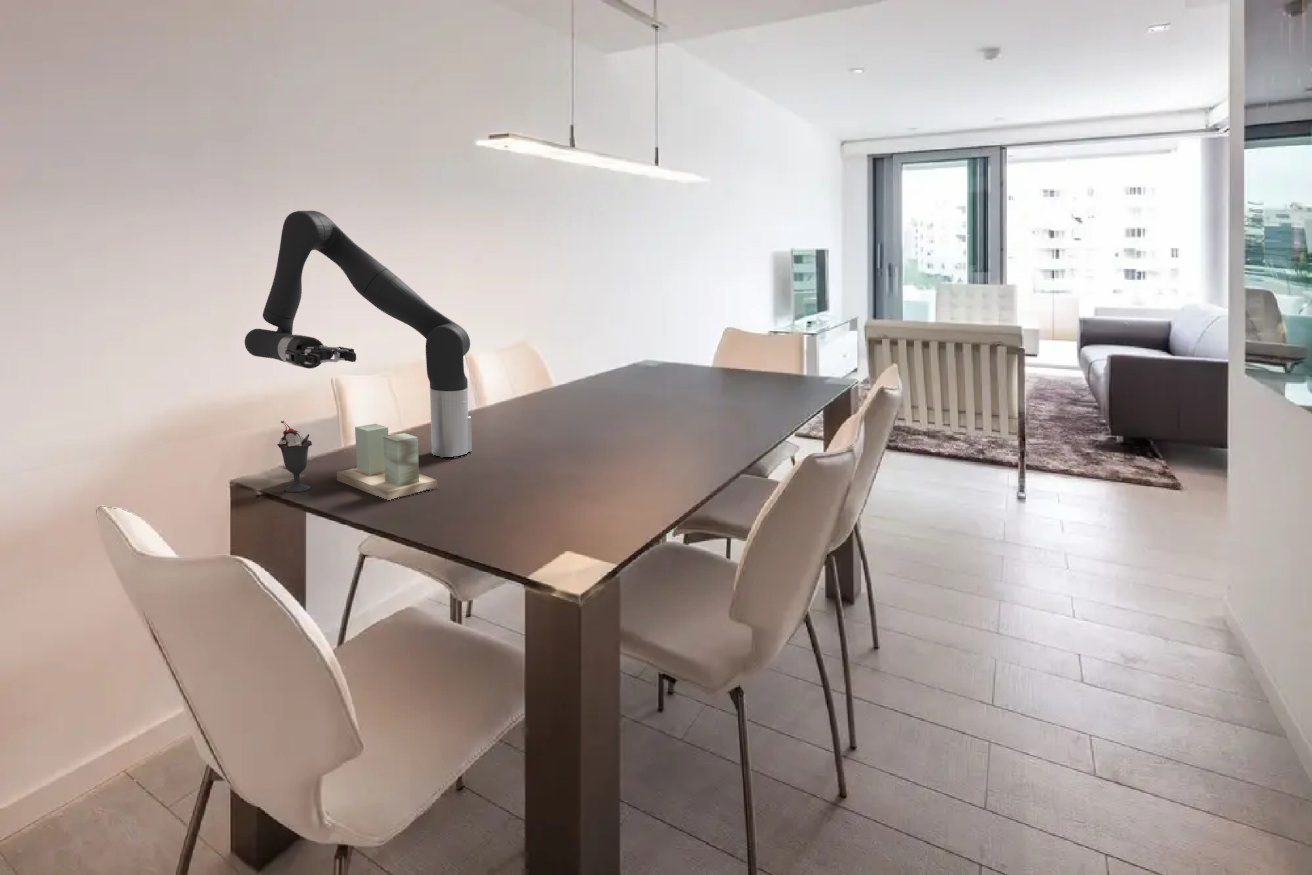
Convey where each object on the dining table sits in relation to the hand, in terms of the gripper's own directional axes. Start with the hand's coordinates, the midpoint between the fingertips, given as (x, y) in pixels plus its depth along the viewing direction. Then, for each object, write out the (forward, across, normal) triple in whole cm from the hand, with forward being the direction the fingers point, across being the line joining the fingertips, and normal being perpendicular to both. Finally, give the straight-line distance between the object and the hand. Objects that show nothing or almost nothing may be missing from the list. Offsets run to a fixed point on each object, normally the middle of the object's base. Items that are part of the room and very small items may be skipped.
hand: (336, 358), depth 167 cm
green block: (+13, 0, +24) cm, 27 cm away
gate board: (+18, 0, +26) cm, 32 cm away
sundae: (+8, -15, +26) cm, 31 cm away
